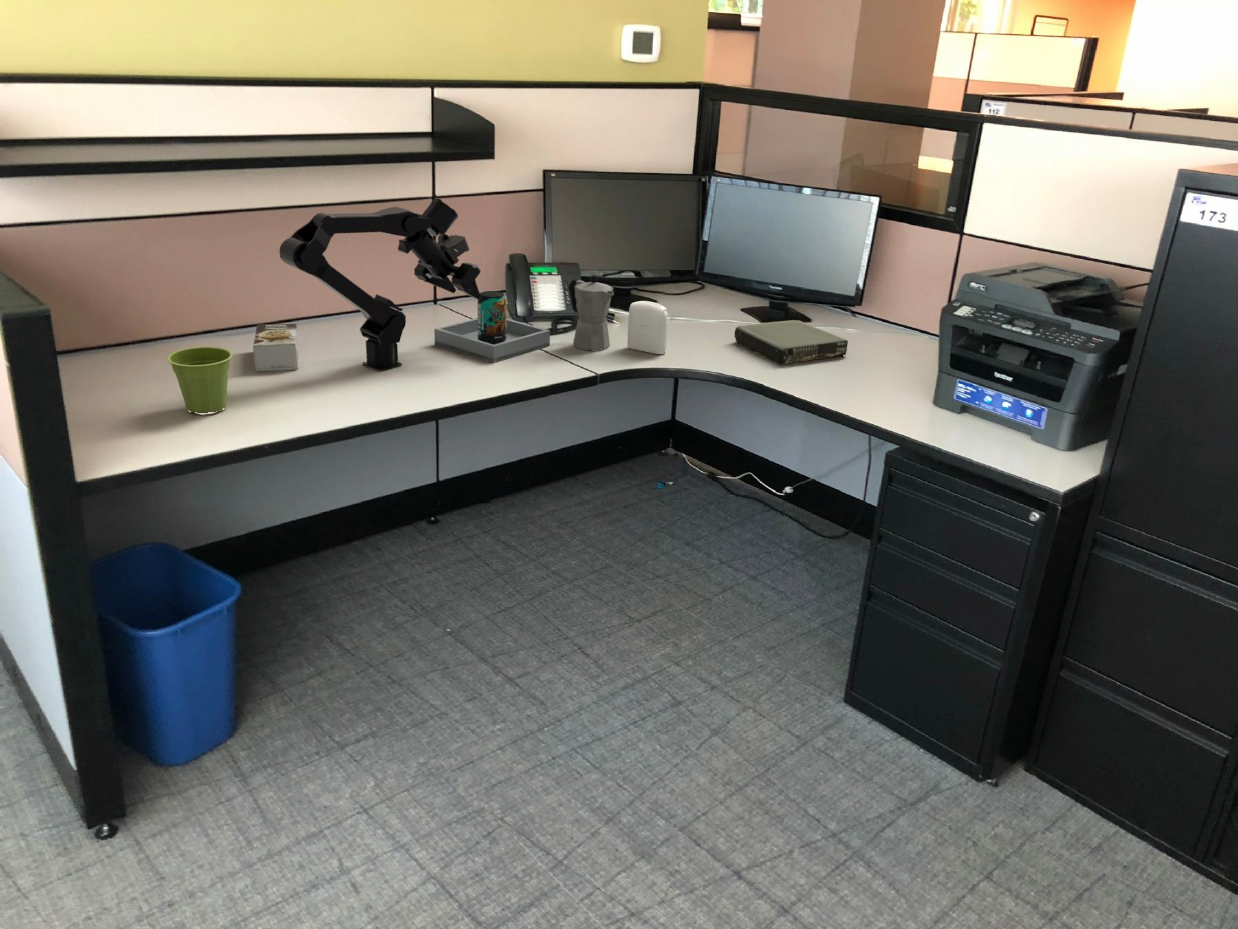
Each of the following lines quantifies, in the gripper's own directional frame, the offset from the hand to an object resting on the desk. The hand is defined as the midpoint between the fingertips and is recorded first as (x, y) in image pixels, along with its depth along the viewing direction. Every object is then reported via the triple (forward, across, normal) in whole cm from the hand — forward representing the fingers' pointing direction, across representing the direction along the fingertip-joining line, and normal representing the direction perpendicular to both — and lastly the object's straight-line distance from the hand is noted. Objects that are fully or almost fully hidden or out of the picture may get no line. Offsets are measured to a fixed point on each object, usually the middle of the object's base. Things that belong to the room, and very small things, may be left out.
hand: (466, 294), depth 242 cm
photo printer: (+35, -27, -15) cm, 46 cm away
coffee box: (-23, +12, +39) cm, 47 cm away
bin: (+15, -1, +4) cm, 15 cm away
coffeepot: (+28, -15, -10) cm, 34 cm away
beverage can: (+14, -1, +4) cm, 14 cm away
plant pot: (-35, 0, +58) cm, 68 cm away
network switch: (+56, -49, -37) cm, 83 cm away
